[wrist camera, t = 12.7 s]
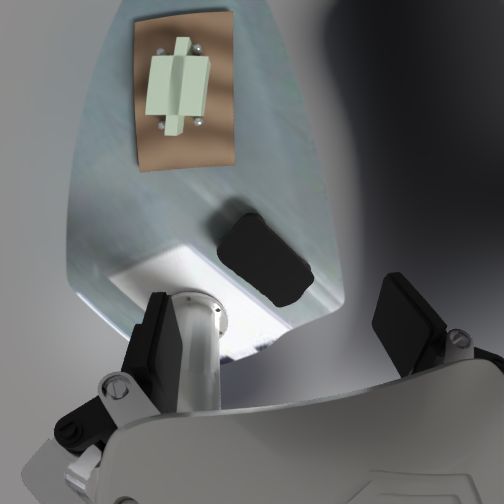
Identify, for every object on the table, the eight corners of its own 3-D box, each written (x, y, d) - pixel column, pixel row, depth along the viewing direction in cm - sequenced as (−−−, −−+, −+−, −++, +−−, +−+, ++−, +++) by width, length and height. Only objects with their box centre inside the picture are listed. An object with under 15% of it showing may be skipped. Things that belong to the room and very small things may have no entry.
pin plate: (234, 163, 37) (235, 169, 33) (142, 170, 36) (133, 177, 32) (232, 14, 27) (233, 3, 23) (138, 25, 26) (128, 16, 22)
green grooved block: (164, 46, 27) (155, 37, 23) (213, 47, 28) (211, 37, 24) (154, 131, 32) (143, 135, 28) (201, 133, 33) (198, 136, 29)
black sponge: (210, 241, 43) (209, 253, 40) (250, 204, 41) (252, 213, 37) (278, 299, 49) (282, 312, 46) (315, 269, 47) (322, 281, 44)
